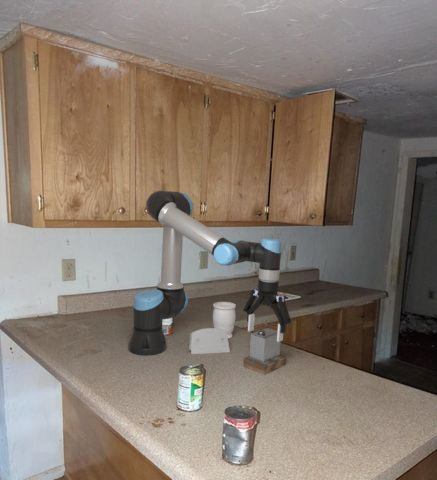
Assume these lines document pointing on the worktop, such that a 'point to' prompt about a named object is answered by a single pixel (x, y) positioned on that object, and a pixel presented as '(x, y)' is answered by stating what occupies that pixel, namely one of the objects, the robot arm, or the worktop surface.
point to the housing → (264, 345)
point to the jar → (224, 317)
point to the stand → (264, 364)
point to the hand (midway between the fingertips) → (264, 335)
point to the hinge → (209, 341)
